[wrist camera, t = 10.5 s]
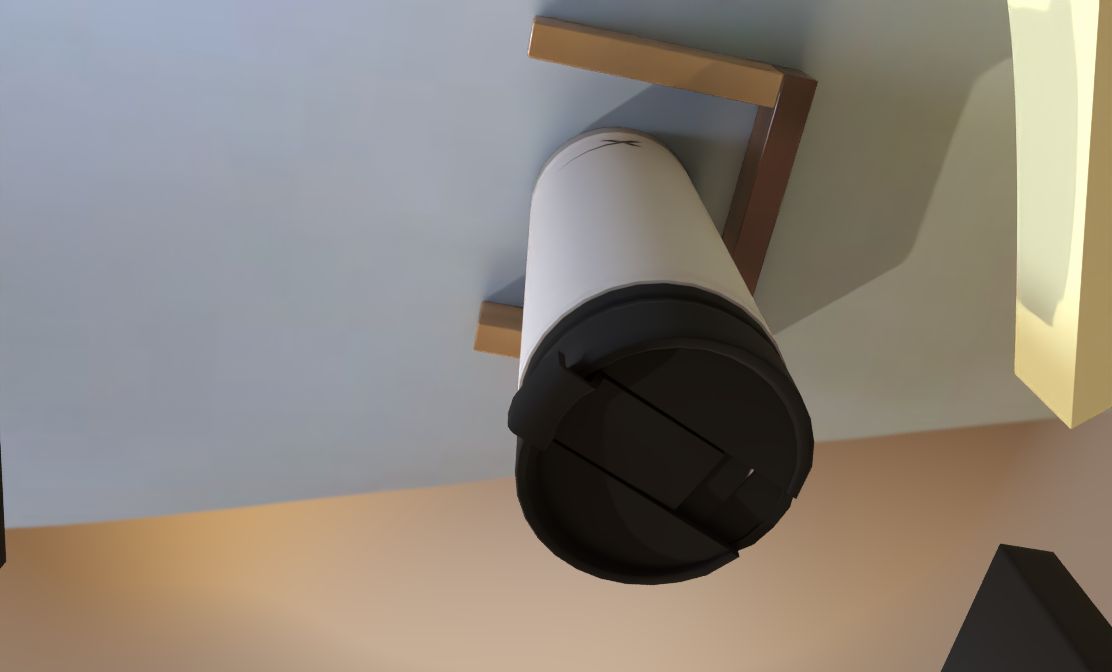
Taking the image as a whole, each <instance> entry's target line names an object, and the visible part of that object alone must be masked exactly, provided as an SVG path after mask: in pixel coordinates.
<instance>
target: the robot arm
mask: <svg viewBox="0 0 1112 672" xmlns="http://www.w3.org/2000/svg"><path fill="white" fill-rule="evenodd" d="M5 562H6V550H5V528H4V507H3V487H2V466H1V445H0V568H1V567H2V566H3V565H4V563H5ZM941 672H1112V627H1111V625H1110V624H1109V623H1108V621H1107V620H1106V619H1105V618H1104V616H1103V615H1102V614H1101V612H1100V611H1099V610H1098V609H1097V607H1096V606H1095V605H1094V604H1093V602H1092V601H1091V600H1090V598H1089V597H1088V596H1087V595H1086V593H1085V592H1084V591H1083V589H1082V588H1081V587H1080V586H1079V584H1078V583H1077V582H1076V581H1075V579H1074V578H1073V577H1072V576H1071V574H1070V573H1069V572H1068V570H1067V569H1066V568H1065V566H1064V565H1063V564H1062V563H1061V561H1060V560H1059V559H1058V557H1057V556H1056V555H1055V554H1054V552H1049V551H1043V550H1036V549H1031V548H1024V547H1018V546H1011V545H1005V544H1000V545H999V547H998V549H997V551H996V554H995V556H994V558H993V560H992V562H991V564H990V567H989V569H988V571H987V573H986V575H985V577H984V580H983V582H982V584H981V586H980V588H979V590H978V593H977V595H976V597H975V599H974V601H973V603H972V606H971V608H970V610H969V612H968V614H967V616H966V619H965V621H964V623H963V625H962V627H961V629H960V631H959V634H958V636H957V638H956V640H955V642H954V644H953V646H952V649H951V651H950V653H949V655H948V657H947V659H946V662H945V664H944V666H943V668H942V670H941Z"/></svg>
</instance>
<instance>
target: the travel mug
mask: <svg viewBox="0 0 1112 672" xmlns="http://www.w3.org/2000/svg"><path fill="white" fill-rule="evenodd" d="M530 214H531V215H530V227H529V241H528V255H527V269H526V283H525V297H524V311H523V325H522V339H521V353H520V368H519V382H518V392H517V393H516V394H515V396H514V397H513V399H512V403H511V406H510V409H509V412H508V427H509V429H510V430H511V431H512V432H513V433H514V434H515V435H517V450H516V465H515V477H516V487H517V496H518V499H519V502H520V505H521V508H522V511H523V514H524V517H525V519H526V520H527V522H528V524H529V525H530V527H531V528H532V530H533V531H534V533H535V534H536V536H537V538H538V539H539V540H540V541H541V542H542V543H543V544H544V545H545V546H546V547H547V548H548V549H549V550H550V551H551V552H553V554H554V555H556V556H557V557H559V558H560V559H562V560H563V561H565V562H567V563H568V564H570V565H571V566H573V567H574V568H576V569H578V570H580V571H583V572H585V573H588V574H591V575H593V576H595V577H598V578H601V579H606V580H610V581H615V582H620V583H624V584H640V585H658V584H667V583H677V582H683V581H686V580H690V579H694V578H698V577H702V576H706V575H708V574H710V573H711V572H713V571H715V570H717V569H718V568H720V567H722V566H724V565H726V564H727V563H729V562H731V561H733V560H735V559H736V558H738V557H739V553H738V551H739V550H741V549H744V548H746V547H748V546H751V545H753V544H755V543H756V542H757V541H758V540H759V539H760V538H761V537H763V536H764V535H765V534H766V533H767V532H769V531H770V530H771V529H772V528H773V527H774V526H775V525H776V524H777V522H778V521H779V520H780V519H781V517H782V516H783V515H784V514H785V513H786V511H787V510H788V509H789V508H790V505H791V502H792V499H793V497H794V498H797V496H798V494H799V492H800V490H801V488H802V486H803V484H804V482H805V480H806V478H807V476H808V474H809V472H810V470H811V468H812V462H813V449H814V438H813V431H812V425H811V418H810V416H809V414H808V411H807V409H806V406H805V404H804V402H803V399H802V397H801V395H800V393H799V391H798V389H797V387H796V385H795V383H794V381H793V379H792V377H791V376H790V374H789V372H788V370H787V368H786V364H785V362H784V359H783V357H782V355H781V352H780V350H779V348H778V345H777V343H776V341H775V339H774V337H773V336H772V334H771V332H770V330H769V328H768V326H767V324H766V322H765V320H764V318H763V316H762V315H761V313H760V311H759V309H758V307H757V305H756V303H755V301H754V299H753V297H752V296H751V294H750V292H749V290H748V288H747V286H746V284H745V282H744V280H743V278H742V277H741V275H740V273H739V271H738V269H737V267H736V265H735V263H734V261H733V259H732V258H731V256H730V254H729V252H728V250H727V248H726V246H725V244H724V242H723V240H722V239H721V237H720V235H719V233H718V231H717V229H716V227H715V225H714V223H713V221H712V220H711V218H710V216H709V214H708V212H707V210H706V208H705V206H704V204H703V202H702V201H701V199H700V197H699V195H698V193H697V191H696V189H695V187H694V185H693V183H692V182H691V180H690V178H689V176H688V174H687V172H686V170H685V168H684V166H683V165H682V164H681V162H680V161H679V159H678V158H677V157H676V155H675V154H674V153H673V152H672V151H671V150H670V149H669V148H668V147H667V146H666V145H665V144H663V143H662V142H661V141H659V140H657V139H656V138H654V137H652V136H651V135H649V134H646V133H643V132H640V131H637V130H635V129H629V128H622V127H607V128H599V129H595V130H591V131H587V132H584V133H582V134H580V135H578V136H576V137H574V138H572V139H570V140H568V141H567V142H566V143H564V144H563V145H562V146H560V147H559V148H558V149H557V150H556V151H555V152H554V153H553V154H552V155H551V156H550V158H549V159H548V160H547V161H546V163H545V164H544V166H543V168H542V169H541V171H540V173H539V174H538V177H537V180H536V183H535V186H534V188H533V194H532V202H531V213H530Z"/></svg>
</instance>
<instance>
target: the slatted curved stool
mask: <svg viewBox="0 0 1112 672" xmlns="http://www.w3.org/2000/svg"><path fill="white" fill-rule="evenodd" d="M1007 1H1008V8H1009V18H1010V29H1011V39H1012V52H1013V66H1014V84H1015V107H1016V139H1017V294H1016V339H1015V372H1014V373H1015V374H1016V375H1017V376H1018V377H1019V378H1020V379H1021V380H1022V381H1023V382H1024V383H1025V384H1026V385H1027V386H1028V387H1029V388H1030V389H1031V390H1032V391H1033V392H1034V393H1035V394H1036V395H1037V396H1038V397H1039V398H1040V399H1041V400H1042V401H1043V402H1044V403H1045V404H1046V405H1047V406H1048V407H1049V408H1050V409H1051V410H1052V411H1053V412H1054V413H1055V414H1056V415H1057V416H1058V417H1059V418H1060V419H1061V420H1062V421H1063V422H1064V423H1065V424H1066V425H1068V427H1069V428H1070V429H1072V428H1074V427H1076V426H1078V425H1080V424H1081V423H1083V422H1085V421H1087V420H1089V419H1091V418H1092V417H1094V416H1096V415H1098V414H1100V413H1101V412H1103V411H1105V410H1107V409H1109V408H1111V407H1112V0H1007Z"/></svg>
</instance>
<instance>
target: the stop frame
mask: <svg viewBox="0 0 1112 672" xmlns="http://www.w3.org/2000/svg"><path fill="white" fill-rule="evenodd" d="M527 56H528V57H529V58H533V59H538V60H543V61H548V62H553V63H558V64H562V65H567V66H572V67H577V68H582V69H587V70H591V71H596V72H601V73H606V74H611V75H616V76H620V77H625V78H630V79H635V80H640V81H645V82H649V83H654V84H659V85H664V86H669V87H674V88H678V89H683V90H688V91H693V92H698V93H703V94H707V95H712V96H717V97H722V98H727V99H732V100H736V101H741V102H746V103H751V104H756V105H759V109H758V112H757V116H756V119H755V123H754V127H753V130H752V134H751V137H750V141H749V144H748V148H747V151H746V155H745V158H744V162H743V166H742V169H741V173H740V176H739V180H738V183H737V187H736V190H735V194H734V197H733V201H732V205H731V208H730V212H729V215H728V219H727V222H726V226H725V229H724V233H723V236H722V240H723V242H724V244H725V246H726V248H727V250H728V252H729V254H730V256H731V258H732V259H733V261H734V263H735V265H736V267H737V269H738V271H739V273H740V275H741V277H742V278H743V280H744V282H745V284H746V286H747V288H748V290H749V292H750V294H751V296H752V297H753V294H754V291H755V288H756V284H757V281H758V278H759V275H760V271H761V268H762V265H763V261H764V258H765V255H766V251H767V248H768V245H769V242H770V238H771V235H772V232H773V228H774V225H775V222H776V218H777V215H778V212H779V209H780V205H781V202H782V199H783V195H784V192H785V189H786V185H787V182H788V179H789V176H790V172H791V169H792V166H793V162H794V159H795V156H796V153H797V149H798V146H799V143H800V139H801V136H802V133H803V129H804V126H805V123H806V120H807V116H808V113H809V110H810V106H811V103H812V100H813V96H814V93H815V90H816V87H817V83H818V81H816V80H815V79H813V78H812V77H810V76H808V75H807V74H805V73H804V72H802V71H799V70H794V69H790V68H785V67H780V66H775V65H769V64H766V63H761V62H756V61H751V60H747V59H742V58H737V57H732V56H728V55H723V54H718V53H713V52H709V51H704V50H699V49H694V48H690V47H685V46H680V45H675V44H671V43H666V42H661V41H656V40H652V39H647V38H642V37H637V36H633V35H628V34H623V33H618V32H614V31H609V30H604V29H599V28H595V27H590V26H585V25H580V24H576V23H571V22H566V21H561V20H557V19H552V18H547V17H542V16H538V15H536V16H535V17H534V20H533V25H532V31H531V36H530V42H529V47H528V53H527ZM523 311H524V308H520V307H514V306H509V305H504V304H498V303H493V302H487V301H483V302H482V305H481V310H480V315H479V321H478V326H477V332H476V337H475V342H474V350H475V351H481V352H486V353H492V354H497V355H503V356H509V357H514V358H520V353H521V339H522V325H523Z"/></svg>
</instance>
